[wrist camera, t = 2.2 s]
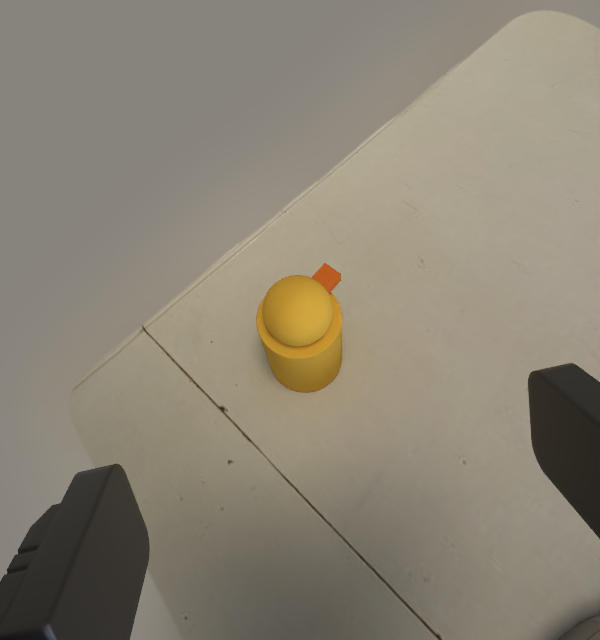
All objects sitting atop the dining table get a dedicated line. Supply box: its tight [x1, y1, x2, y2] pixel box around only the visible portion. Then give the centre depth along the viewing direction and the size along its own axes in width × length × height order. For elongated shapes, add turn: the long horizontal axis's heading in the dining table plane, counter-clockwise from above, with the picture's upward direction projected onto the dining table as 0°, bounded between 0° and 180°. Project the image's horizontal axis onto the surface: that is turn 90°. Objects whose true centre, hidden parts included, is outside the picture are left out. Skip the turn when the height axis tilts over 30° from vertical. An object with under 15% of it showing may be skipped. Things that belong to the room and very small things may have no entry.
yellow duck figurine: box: [256, 263, 342, 392], centre depth 33 cm, size 6×5×10 cm
